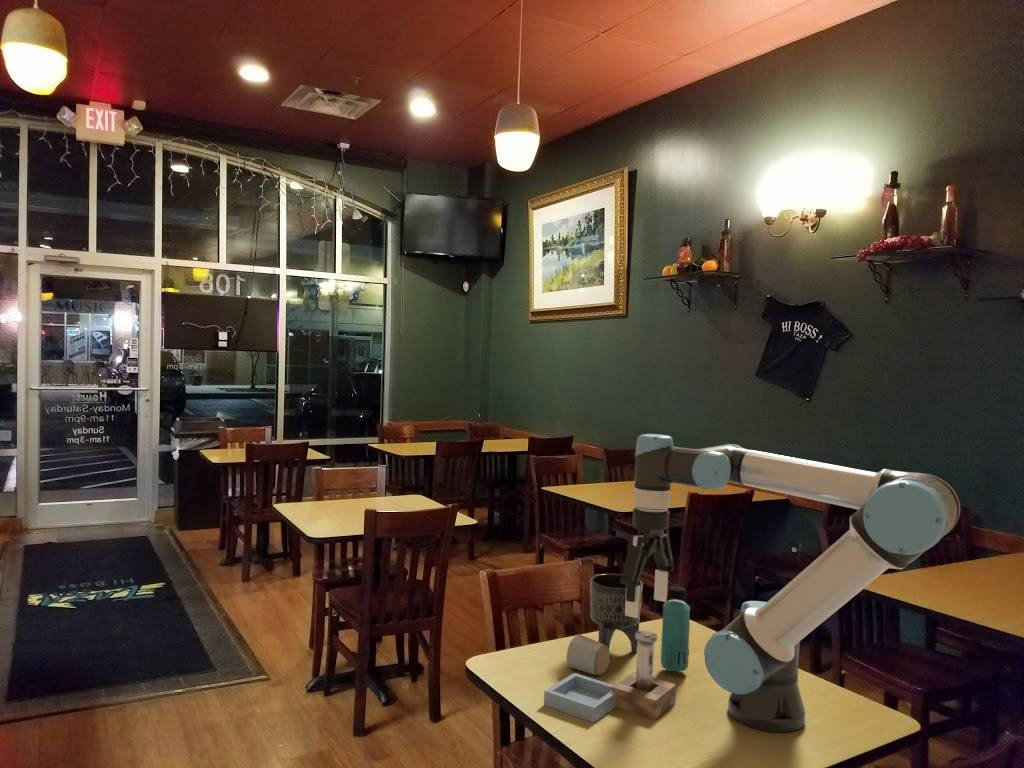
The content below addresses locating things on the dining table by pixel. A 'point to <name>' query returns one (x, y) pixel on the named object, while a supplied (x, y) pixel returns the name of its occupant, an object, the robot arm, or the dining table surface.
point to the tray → (581, 697)
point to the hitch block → (644, 697)
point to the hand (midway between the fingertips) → (646, 608)
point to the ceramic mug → (588, 655)
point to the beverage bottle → (675, 631)
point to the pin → (645, 659)
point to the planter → (612, 608)
